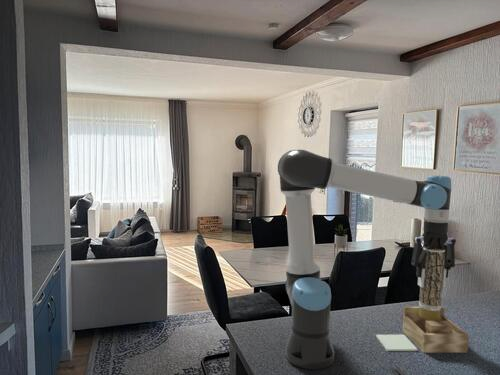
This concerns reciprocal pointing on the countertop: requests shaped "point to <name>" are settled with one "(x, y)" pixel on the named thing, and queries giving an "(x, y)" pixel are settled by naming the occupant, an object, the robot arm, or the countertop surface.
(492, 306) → the countertop surface
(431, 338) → the wooden open box
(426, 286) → the wooden log
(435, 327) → the offcut stack
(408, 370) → the countertop surface
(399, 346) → the felt mat
